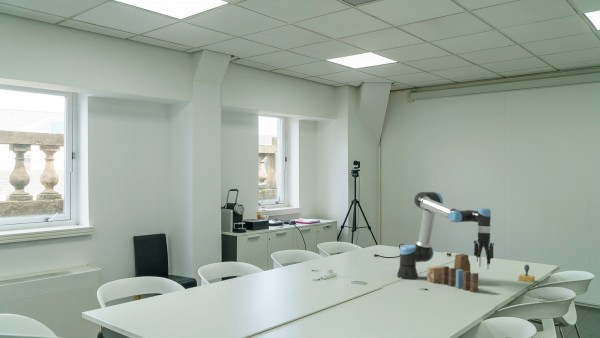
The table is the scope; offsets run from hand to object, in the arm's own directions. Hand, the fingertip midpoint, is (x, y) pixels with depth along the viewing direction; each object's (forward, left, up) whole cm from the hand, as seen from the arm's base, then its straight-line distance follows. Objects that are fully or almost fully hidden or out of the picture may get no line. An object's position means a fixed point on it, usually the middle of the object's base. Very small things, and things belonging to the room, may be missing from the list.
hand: (483, 268), depth 298 cm
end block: (-39, 0, -17) cm, 42 cm away
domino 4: (-13, 0, -17) cm, 21 cm away
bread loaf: (-28, +15, -17) cm, 36 cm away
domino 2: (-25, 0, -17) cm, 30 cm away
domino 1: (-31, 0, -17) cm, 35 cm away
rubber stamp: (-9, +64, -17) cm, 66 cm away
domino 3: (-18, 0, -17) cm, 25 cm away
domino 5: (-7, 0, -17) cm, 18 cm away
